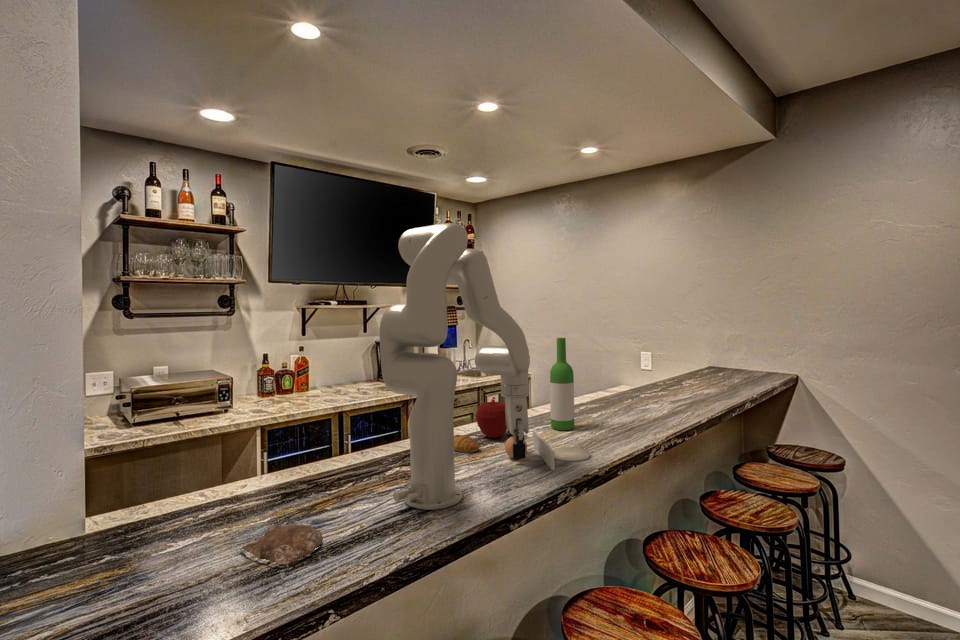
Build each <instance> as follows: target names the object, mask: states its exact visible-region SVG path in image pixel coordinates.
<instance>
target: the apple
mask: <svg viewBox="0 0 960 640" xmlns="http://www.w3.org/2000/svg"><path fill="white" fill-rule="evenodd" d="M475 419H476V423H477V426H478V429H480V431H481V433H482V434H483V435H485V436H486V437H487V438H490V439H498V438H501V437H503V436H504V435H505V434H506V433H507V432H508V431H507V430H508V429H507V427H506V419H505V402H500V401H494V400H492V401H486V402H482V403H481V404H480V405H479V406H478V408H477V409H476V414H475Z"/></svg>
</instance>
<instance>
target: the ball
mask: <svg viewBox="0 0 960 640" xmlns="http://www.w3.org/2000/svg"><path fill="white" fill-rule="evenodd" d="M516 437H517V436H516ZM513 444H514V439H513V436H512V437H510V438H509V439H508V440H506V441H505V443H504V450H505V453H506V454H507V456H508V457H509V458H512V459H514V458H513ZM527 450H528V444H527V442H526V441H525V453H526V454H527Z"/></svg>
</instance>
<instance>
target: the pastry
mask: <svg viewBox="0 0 960 640" xmlns="http://www.w3.org/2000/svg"><path fill="white" fill-rule="evenodd" d="M479 450H480V444H479V442H478V441H476V440H475V439H473V438H472V437H470V436H468V435H462V434H458V433H457V434H454V452H460V453H466V454H469V453H471V454H473V453H475V452H478V451H479Z"/></svg>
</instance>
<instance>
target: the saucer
mask: <svg viewBox="0 0 960 640" xmlns="http://www.w3.org/2000/svg"><path fill="white" fill-rule="evenodd" d="M551 449H552V450H553V451H554V458H555V460H557V461H560V462H571V463H572V462H584V461H586V459H587V460H588V458H589V457H591V452H590V451H588V449H587V450H586V449H584V448H580V447H574V446H562V447H561V446H560V447H556V448H551ZM589 459H590V458H589Z"/></svg>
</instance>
